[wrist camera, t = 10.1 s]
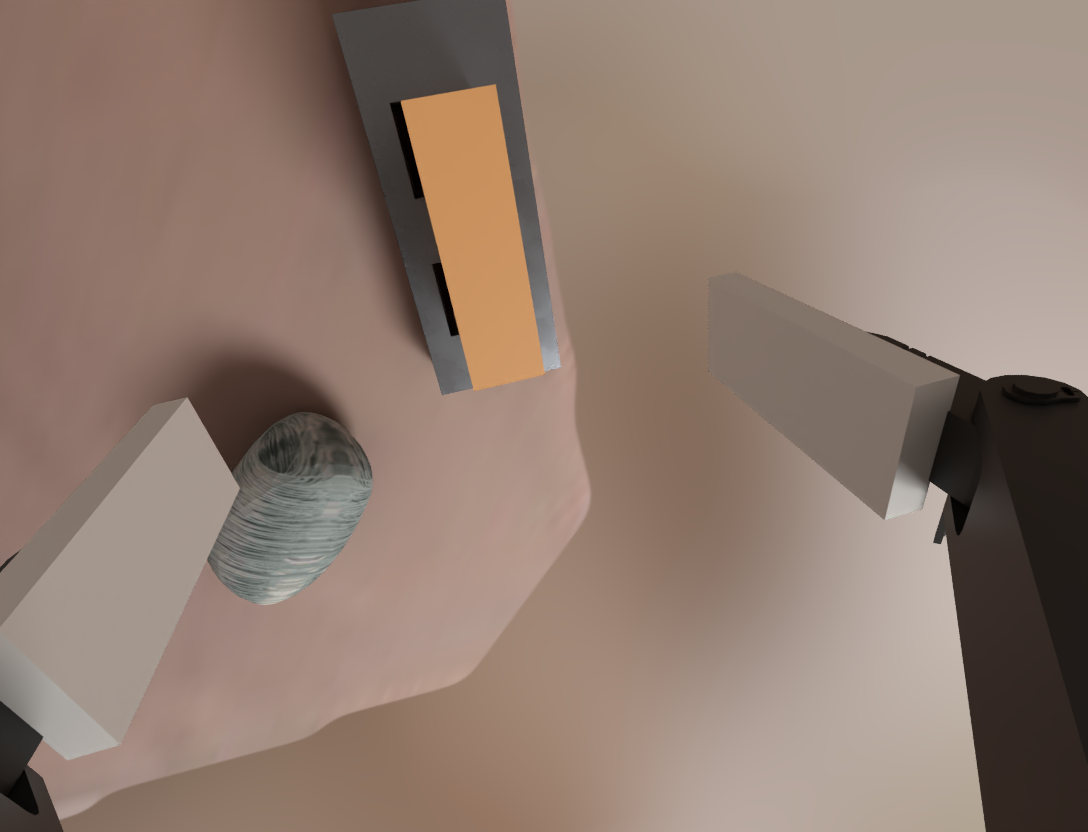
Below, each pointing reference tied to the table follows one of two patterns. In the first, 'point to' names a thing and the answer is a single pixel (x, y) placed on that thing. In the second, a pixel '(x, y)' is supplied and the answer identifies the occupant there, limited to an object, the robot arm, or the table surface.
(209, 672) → the table surface
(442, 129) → the wooden arch block
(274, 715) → the table surface
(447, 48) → the cinder block
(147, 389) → the table surface
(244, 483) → the spool
